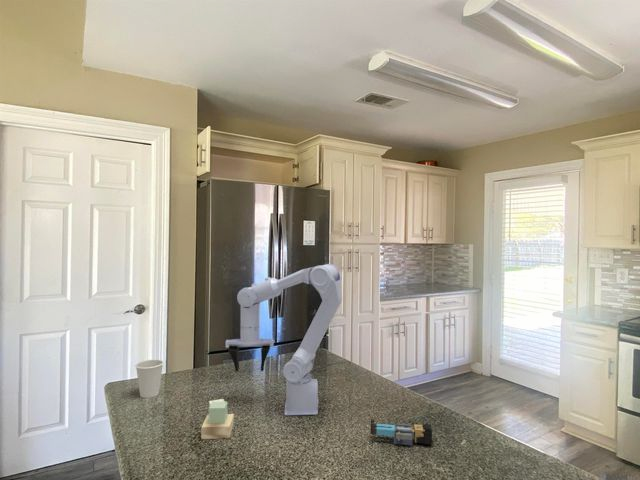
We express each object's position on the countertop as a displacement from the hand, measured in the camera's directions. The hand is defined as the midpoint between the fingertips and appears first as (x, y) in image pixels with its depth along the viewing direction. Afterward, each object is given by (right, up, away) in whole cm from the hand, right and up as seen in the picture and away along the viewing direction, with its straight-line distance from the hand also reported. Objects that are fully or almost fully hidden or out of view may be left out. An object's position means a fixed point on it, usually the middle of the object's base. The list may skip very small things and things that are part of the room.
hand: (249, 370), depth 119 cm
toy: (+42, -10, -23) cm, 49 cm away
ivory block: (-7, -10, -9) cm, 16 cm away
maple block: (-5, -10, -18) cm, 21 cm away
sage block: (-5, -7, -18) cm, 20 cm away
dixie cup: (-33, -10, +6) cm, 35 cm away
